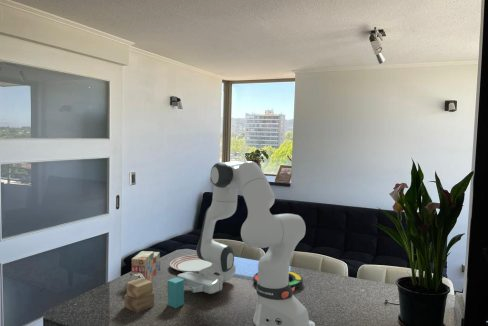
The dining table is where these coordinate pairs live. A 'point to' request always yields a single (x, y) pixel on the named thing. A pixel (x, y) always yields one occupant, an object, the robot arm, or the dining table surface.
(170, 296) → the teal pillar
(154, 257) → the stack of blocks
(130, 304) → the walnut base block
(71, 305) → the dining table surface
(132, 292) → the oak top block
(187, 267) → the dinner plate
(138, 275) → the game die
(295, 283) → the electronic game
